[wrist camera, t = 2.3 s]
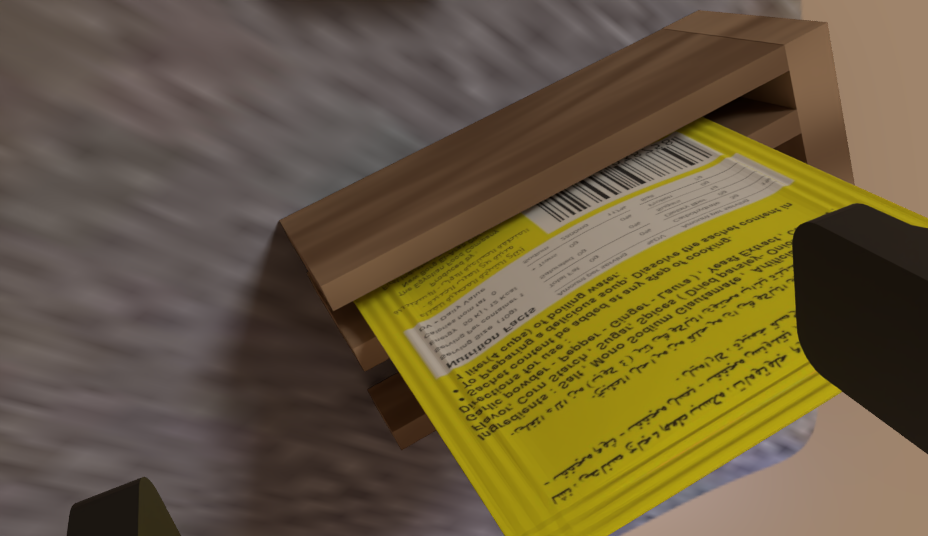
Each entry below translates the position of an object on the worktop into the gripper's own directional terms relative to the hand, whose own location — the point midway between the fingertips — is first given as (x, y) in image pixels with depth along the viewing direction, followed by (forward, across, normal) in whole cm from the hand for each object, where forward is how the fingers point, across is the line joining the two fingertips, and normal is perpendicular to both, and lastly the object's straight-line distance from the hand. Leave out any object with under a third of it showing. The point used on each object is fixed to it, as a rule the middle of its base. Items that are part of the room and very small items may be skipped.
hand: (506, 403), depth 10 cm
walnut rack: (+26, -9, +11) cm, 30 cm away
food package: (+26, -7, +7) cm, 28 cm away
